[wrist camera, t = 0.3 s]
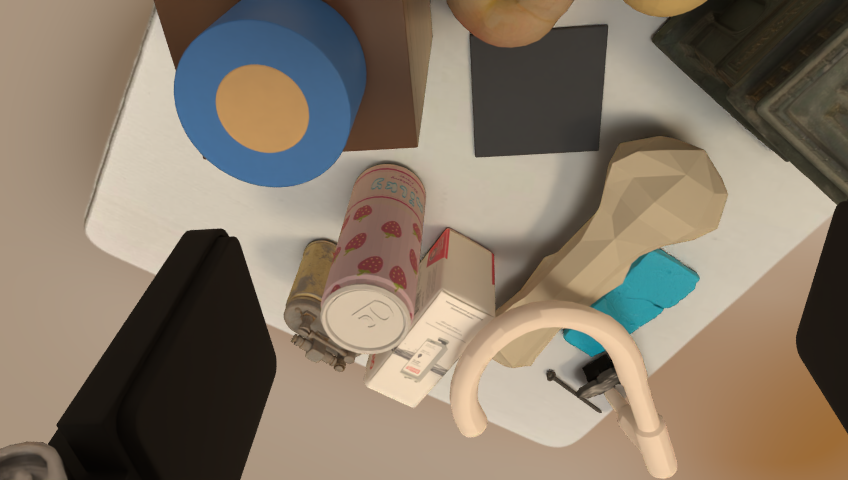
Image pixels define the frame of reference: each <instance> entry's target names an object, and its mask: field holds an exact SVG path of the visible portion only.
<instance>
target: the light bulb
mask: <svg viewBox="0 0 848 480" xmlns="http://www.w3.org/2000/svg"><path fill="white" fill-rule="evenodd" d="M623 1H624V2H625V3H627V4H628V5H629V6H631V7H632V8H634V9H635V10H637V11H639V12H642V13H644V14H647V15H650V16H657V17H668V16H676V15H679V14H683V13H686V12H688V11H691V10H692V9H694V8H696V7H698V6H700V5H702V4H703V3H704V2H706V1H707V0H623Z"/></svg>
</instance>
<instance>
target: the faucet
mask: <svg viewBox="0 0 848 480" xmlns="http://www.w3.org/2000/svg"><path fill="white" fill-rule="evenodd" d="M551 327H559V328H568V329H573V330H577V331H580V332H583V333H586V334H587V335H589V336H591V337H592V338H594V339H595V340H596V341H597V342H599V343H600V344H601V345H602V346H603V347H604V349H605V350H606V351H607V352H608V354H609V355H610V357H611V359H612V361H613V364H614V367H615V370H616V373H617V376H618V379H619V381H620V383H621V384H622V385H623V386H624V389H625V392H626V395H627V398H628V401H629V404H630V405H629V404H628V403H627V402H626V401H625V399H624V398H623V397H622V396H621V394H620V393H619V392H618V391H617V390H616V389H615V388H614V387H613V388H612V389H610V390H608V391H606V392H604V395H605V397H606V399H607V400H608V402H609V403H610V405H611V406H612V408H613V409H614V410H615V412H616V413H617V421H618V423H619V427H620V428H621V429H622V430H623V432H624V433H625V434H626V435H627V437H628V438H629V439H630V440H631V441H632V442H633V444H634V445H635V446H636V447H637V448H638V449H639V451H640V452H641V453H642V456H643V459H644V462H645V465H646V467H647V470H648V472H649V473H650V474H651V475H652V476H654V477H655V478H661V479H665V478H668V477H671V476H673V474H674V473H675V472H676V471H677V466H678V463H677V460H676V456H675V453H674V450H673V446H672V443H671V440H670V436H669V434H668V430H667V427H666V423H665V421H664V419H663V417H662V416H661V415H659V414H658V413H657V411H656V408H655V405H654V402H653V398H652V395H651V392H650V388H649V385H648V382H647V376H648V374H647V371H646V368H645V365H644V361H643V358H642V355H641V353H640V351H639V349H638V347H637V345H636V343H635V342H634V340H633V338H632V337H631V335H630V334H629V333H628V332H627V330H626V329H625V328H624V327H623V326H622V325H621V324H620V323H619V322H617V321H616V320H615V319H614V318H612V317H611V316H609V315H607V314H605V313H603V312H600V311H598V310H596V309H594V308H592V307H589V306H586V305H582V304H578V303H575V302H568V301H558V300H547V301H538V302H531V303H528V304H524V305H521V306H518V307H515V308H512V309H510V310H508V311H506V312H504V313H503V314H501V315H499V316H497V317H495V318H494V319H492V320H491V321H490V322H489V323H488V324H487V325H486V326H485V327H483V328H482V329H481V330H480V331H479V332H478V333H477V334H476V336H475V337H474V338H473V339H472V341H471V342H470V343H469V344H468V345H467V347H466V349H465V350H464V352H463V354H462V356H461V357H460V359H459V361H458V363H457V365H456V368H455V371H454V374H453V377H452V380H451V387H450V402H451V408H452V413H453V418H454V420H455V422H456V424H457V426H458V429H459V430H460V432H461V433H462V434H463V435H464V436H465V437H475V436H478V435H480V434H481V433H482V432H483V431H484V430H485V429H486V426H487V424H488V422H487V417H486V415H485V413H484V411H483V409H482V408H481V406H480V404H479V402H478V397H477V393H478V383H479V380H480V377H481V374H482V372H483V371H484V369H485V367H486V366H487V364H488V363H489V362H490V360H491V359H492V358H493V357H494V356H495V355H496V354H497V353H498V351H500V350H501V349H502V348H503V347H505V346H506V345H507V344H508V343H510V342H511V341H512V340H514V339H516V338H518V337H520V336H521V335H523V334H525V333H527V332H530V331H534V330H537V329H540V328H551Z"/></svg>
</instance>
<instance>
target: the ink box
mask: <svg viewBox="0 0 848 480" xmlns="http://www.w3.org/2000/svg"><path fill="white" fill-rule="evenodd" d="M494 275H495V272H494V254H493V253H491V252H490V251H488V250H487V249H485V248H484V247H482V246H481V245H479V244H477V243H476V242H474V241H472V240H471V239H469V238H467V237H465V236H464V235H461V234H460V233H458V232H456V231H454V230H452V229H450V228H447V229H446V230H445V231H444V232H443V234H442V235H441V236H440V238H439V239H438V240H437V242H436V243H435V244H434V246H433V247H432V248H431V249H430V251H429V252H428V253H427V255H426V256H425V257H424V259H423V260H422V261H421V263H420V264H419V271H418V281H417V291H416V300H415V310H414V319H413V322H412V325H411V327H410V330H409V333H408V335H407V336H406V338H405V339H404V340H403V341H402V342H401V343H400V344H399V345H398V346H396V347H394V348H393V349H391V350H388V351H386V352H383V353H377V354H369V358H368V361H367V365H366V372H365V376H364V383H365V385H366V386H367V387H368V388H371V389H373V390H375V391H377V392H379V393H381V394H383V395H386V396H388V397H390V398H392V399H394V400H397V401H399V402H401V403H403V404H405V405H408V406H410V407H412V408H415V407H416V406H417V405H418V404H419V402H420V401H421V400H422V399H423V398H424V397H425V396H426V395H427V393H428V392H429V391H430V390H431V389H432V388H433V387H434V386H435V385H436V384H437V382H438V381H439V380H440V379H441V378H442V377H443V376H444V374H445V373H446V372H447V371H448V370H449V369H450V368H451V367H452V365H453V364H454V363H455V362H456V361H457V360H458V359H459V358H460V357H461V355H462V354H463V352H464V350H465V349H466V347H467V345H468V344H469V343H470V342H471V341H472V339H473V338H474V337H475V336H476V334H477V333H478V332H479V331H480V330H481V329H482V328H483V327H485V326H486V325H487V324H488V323H489V322H490V321H491V320H492V319H494V318H495V276H494Z"/></svg>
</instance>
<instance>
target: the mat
mask: <svg viewBox="0 0 848 480" xmlns="http://www.w3.org/2000/svg"><path fill="white" fill-rule="evenodd" d="M607 34H608V25H607V24H606V25H592V26H578V27H565V28H552V29H551V30H550V31H549V32H548V33H547V34H546V35H545V36H543V37H542V38H541V39H540V40H538V41H536V42H533V43H531V44H528V45H526V46H519V47H512V48H510V47H497V46H494V45H491V44H488V43H485V42H484V41H482V40H481V39H479V38H477V37H476V36H474V35H473V34H470V49H471V71H472V93H473V116H474V138H475V157H493V156H511V155H529V154H548V153H566V152H584V151H598V150H599V138H600V125H601V112H602V99H603V86H604V73H605V60H606V47H607Z"/></svg>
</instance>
